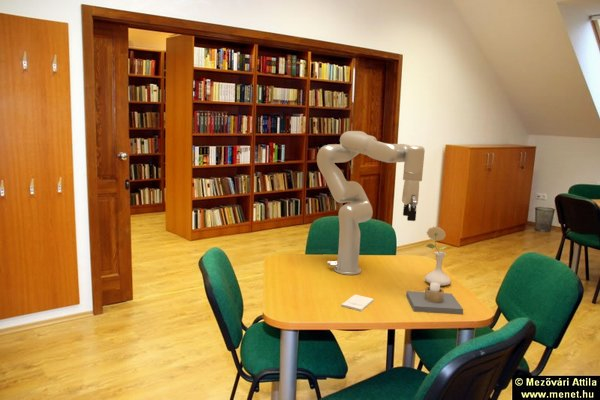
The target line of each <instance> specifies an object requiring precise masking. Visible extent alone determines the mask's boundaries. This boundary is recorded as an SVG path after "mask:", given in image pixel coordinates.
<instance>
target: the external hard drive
mask: <svg viewBox="0 0 600 400" xmlns="http://www.w3.org/2000/svg"><path fill="white" fill-rule="evenodd" d="M374 301H375V300H374V298H373V297H372V298H371V297H368V296H362V295H360V294H353V295H352V296H351V297H349V298H348V299H347V300H346V301H344V302H342V303H341V305H340V306H341V307H343V308H346V309H351V310H354V311H359V312H362V311H364V310H366V308H367V307H369V306H370V305H371V304H372V303H374Z"/></svg>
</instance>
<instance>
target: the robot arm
mask: <svg viewBox="0 0 600 400" xmlns="http://www.w3.org/2000/svg"><path fill="white" fill-rule="evenodd" d="M339 142H340V143H339V144H337V143H335V144H327V145H326V144H325V145H323V146H322V147H320V148H319V150H318V152H317V155H316V163H317V167H318V170H319V172H320V173H321V174H322V176H323V179H324V180H325V182H326V185H327V187H328V190H329V191H330V193H331V196H332V197H333V199H334V202H335V201H336V202H337V203H339V204H344V203H345V204H344V205H341V207H340V208H339V210H338V222H339V223H338V224H339V231H338V232H339V237H338V250H337V251H338V253H337V258H336V260H334V261H333V260H327V266H330V267H333V271H334V272H336V273H338V274H342V275H346V276H347V275H349V276H353V275H359V274H361V273H362V268H361V267H359V262H360V261H359V258H360V248H361V246H360V244H361V230H360V229H361V228H360V227H359V224H360V223H366V222H368V221H369V220H371V219H372V217H373V213H374V212H373V206H372V204H371V203H370V200H369V198H368V196H367V194H366V192H365V190H364V188H363V186H362V185H361V184H360V183H359V182H357V181H353V180H347V179H346V178H345V176H344V174H343V171H342V170H341V168H339V167H338V166H337V165H336V164H335V163H337V164H339V163H347V162H349V161H351V160H353V159H354V158H355V157H357V156H358V155H359V154H362V155H365V156H368V157H369V158H370V159H373V160H376V161H380V162H383V163H387V164H389V163H390V164H392V163H394V164H395V163H403V164H404V165H403V174H402V175H403V176H402V180H403V181H404V182H403V187H402V188H403V189H402V197H401V201H402V203H403V211H402V216H403V217H404V216H405V217H406V218H407V219H406V220H407V221H411V222H416V218H417V206H418V204H419V192H420V182H422V181H423V172H424V163H425V152H426V151H425V147H424V146H421V145H409V144H404V143H387V142H382V141H378V140H377V137H375V136H373V135H370V134H367V133H366V132H364V131H362V130H347V131H345V132H343V133H342V134H341V135H340V138H339Z"/></svg>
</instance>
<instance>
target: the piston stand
mask: <svg viewBox="0 0 600 400" xmlns="http://www.w3.org/2000/svg"><path fill="white" fill-rule="evenodd" d="M429 284H430V285H429V287H430V291H432V292H439V291H440V288H441V286H440V283H437V282H431V283H429ZM405 292H406V294H405V295H406V298H407V300H408V303H409V304H410V306H411V308H412V310H413V312H417V313H419V312H420V313H437V314H451V315H452V314H454V315H463V314H464V308H463V307H462V305H461V304H460V303H459V301H458V300H457V299H456V297H455V296H454V294H453V293H448V292H447V293H446V292H444V297H443V302H441V303H432V302H428V301H426V300H425V299H424V296H425V291H414V290H406V291H405Z"/></svg>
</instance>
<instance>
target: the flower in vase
mask: <svg viewBox="0 0 600 400" xmlns="http://www.w3.org/2000/svg"><path fill="white" fill-rule="evenodd" d="M426 235H427V236H428V238H429V239H430V240H434V244H433V243H428V244H427V245H426V246H425V247H427V248H429V249H434V248H435V249H436V250H437V251H434V255H435V257H436V265H435V268H434V269H433V270H432V271H430V272H429V273H427V274H425V276H424V278H423V279H424V281H425V282H426V283H429V284H430V283H431V282H437V283H440V287H442V286H448V285H451V283H452V280H451V278H450V277H449V275H448V274H447V273H445V272H444V270H443V269H442V268H443V267H442V266H443V260H444V258H445V256H446V255H447V253H446V252H444V251H443V250H444V249H446V248H447V247H448V245H445V246H441V247H439V248H438V247H437V244H436V241H437V242H438V241H443V240H445V238H446V237H447V234H446V231H444V229H443V228H441V227H440V226H439V227H438V226H432V227H429V228H428V229H427V231H426Z"/></svg>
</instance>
